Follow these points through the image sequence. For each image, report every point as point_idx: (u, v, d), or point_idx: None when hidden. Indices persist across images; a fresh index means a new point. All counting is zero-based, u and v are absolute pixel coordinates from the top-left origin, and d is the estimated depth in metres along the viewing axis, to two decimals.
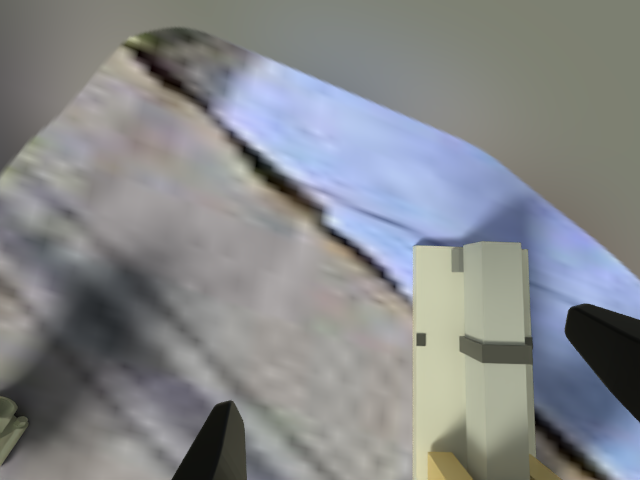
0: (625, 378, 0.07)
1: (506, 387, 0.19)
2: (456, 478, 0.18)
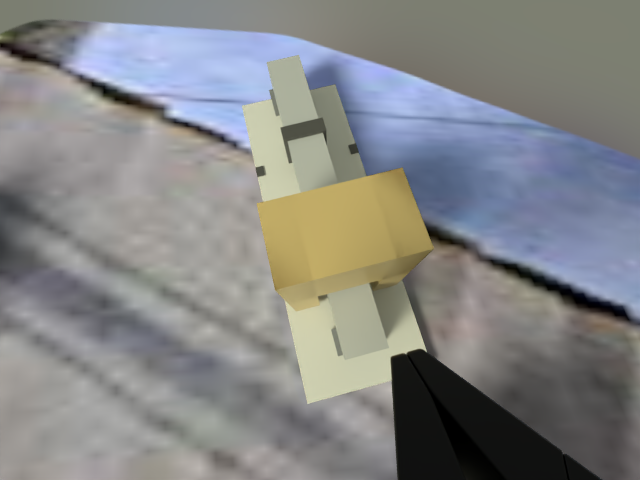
0: None
1: (310, 154, 0.21)
2: None
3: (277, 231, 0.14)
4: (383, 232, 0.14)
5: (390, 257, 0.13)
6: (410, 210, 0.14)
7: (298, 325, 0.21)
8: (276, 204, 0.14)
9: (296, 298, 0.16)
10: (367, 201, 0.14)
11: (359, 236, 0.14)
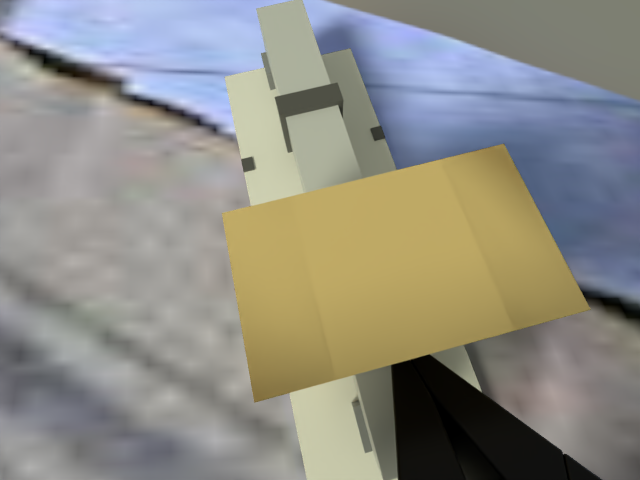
0: None
1: (320, 135, 0.14)
2: None
3: (262, 270, 0.07)
4: (479, 273, 0.07)
5: (499, 328, 0.06)
6: (530, 227, 0.07)
7: (301, 394, 0.14)
8: (260, 215, 0.07)
9: None
10: (441, 209, 0.07)
11: (431, 282, 0.07)
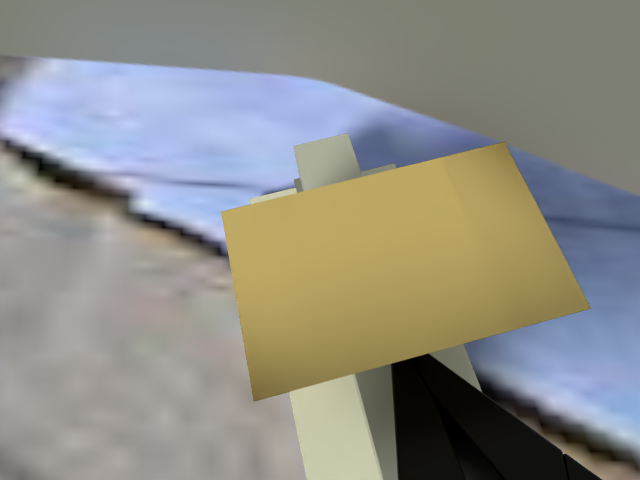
0: None
1: None
2: None
3: (261, 268, 0.07)
4: (479, 272, 0.07)
5: (499, 327, 0.06)
6: (530, 226, 0.07)
7: None
8: (260, 213, 0.07)
9: None
10: (441, 207, 0.07)
11: (430, 281, 0.07)
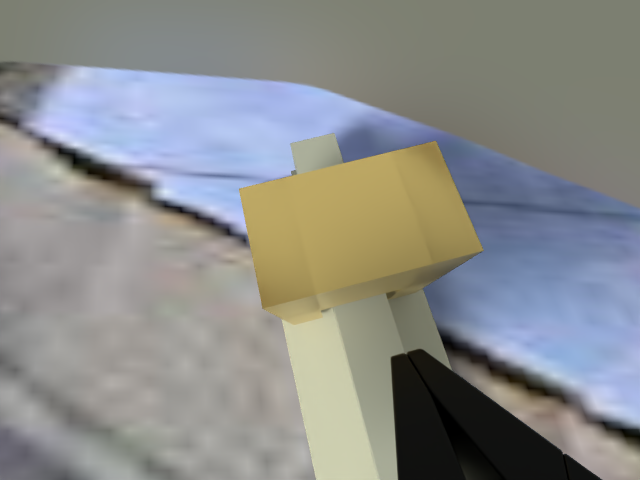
0: None
1: None
2: None
3: (266, 226, 0.10)
4: (412, 228, 0.10)
5: (423, 262, 0.10)
6: (448, 198, 0.10)
7: None
8: (265, 190, 0.11)
9: (293, 314, 0.13)
10: (389, 185, 0.10)
11: (379, 233, 0.10)
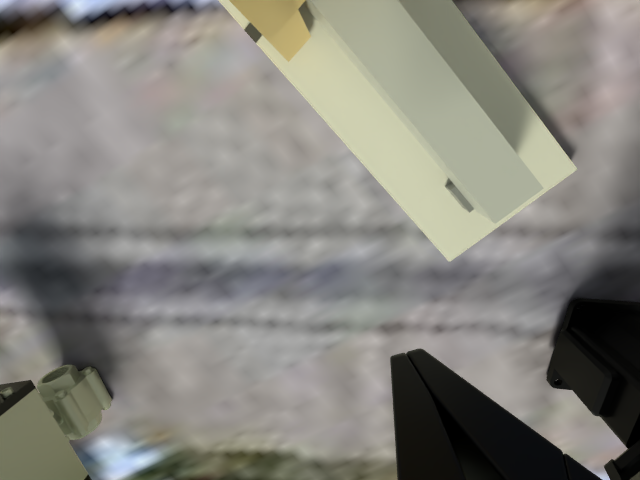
0: None
1: None
2: None
3: None
4: None
5: None
6: None
7: (406, 199, 0.18)
8: None
9: (272, 22, 0.12)
10: None
11: None
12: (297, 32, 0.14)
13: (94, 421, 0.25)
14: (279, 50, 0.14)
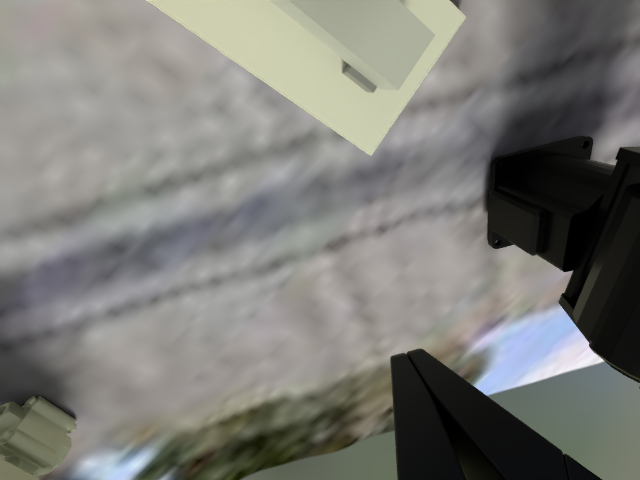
0: None
1: None
2: None
3: None
4: None
5: None
6: None
7: (307, 99, 0.17)
8: None
9: None
10: None
11: None
12: None
13: (62, 447, 0.23)
14: None
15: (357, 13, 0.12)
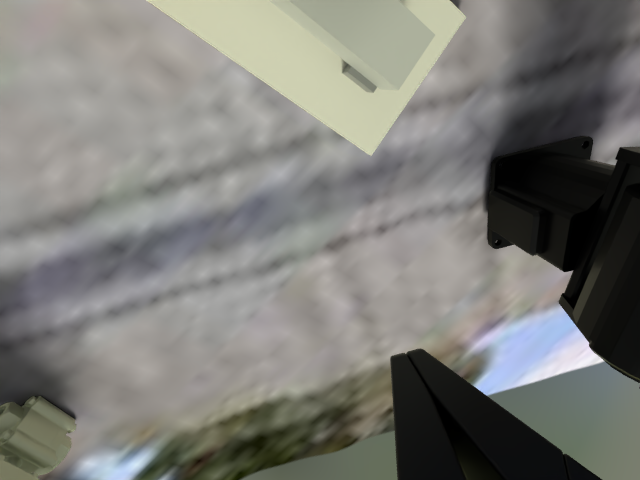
0: None
1: None
2: None
3: None
4: None
5: None
6: None
7: (307, 99, 0.17)
8: None
9: None
10: None
11: None
12: None
13: (62, 447, 0.23)
14: None
15: (357, 13, 0.12)
